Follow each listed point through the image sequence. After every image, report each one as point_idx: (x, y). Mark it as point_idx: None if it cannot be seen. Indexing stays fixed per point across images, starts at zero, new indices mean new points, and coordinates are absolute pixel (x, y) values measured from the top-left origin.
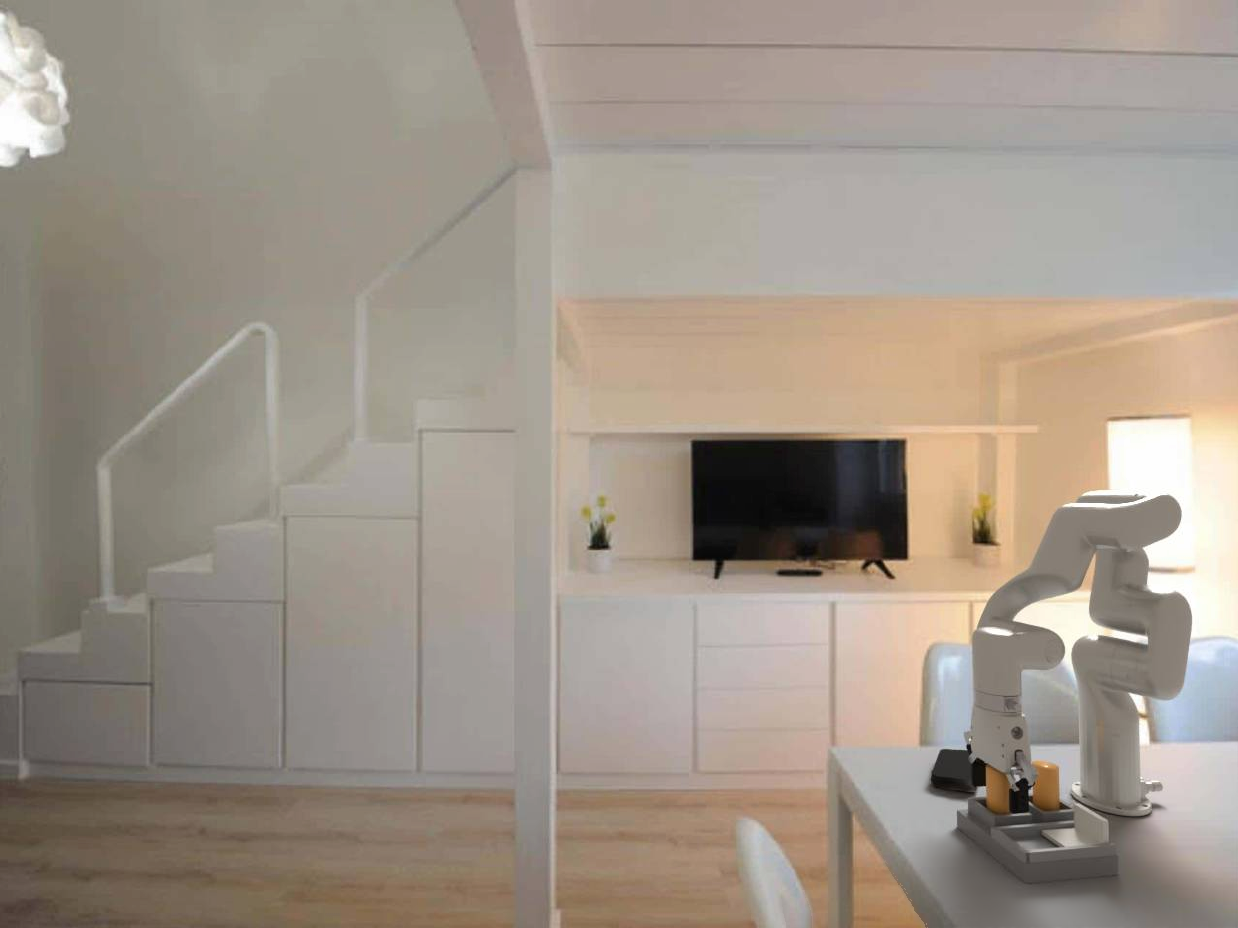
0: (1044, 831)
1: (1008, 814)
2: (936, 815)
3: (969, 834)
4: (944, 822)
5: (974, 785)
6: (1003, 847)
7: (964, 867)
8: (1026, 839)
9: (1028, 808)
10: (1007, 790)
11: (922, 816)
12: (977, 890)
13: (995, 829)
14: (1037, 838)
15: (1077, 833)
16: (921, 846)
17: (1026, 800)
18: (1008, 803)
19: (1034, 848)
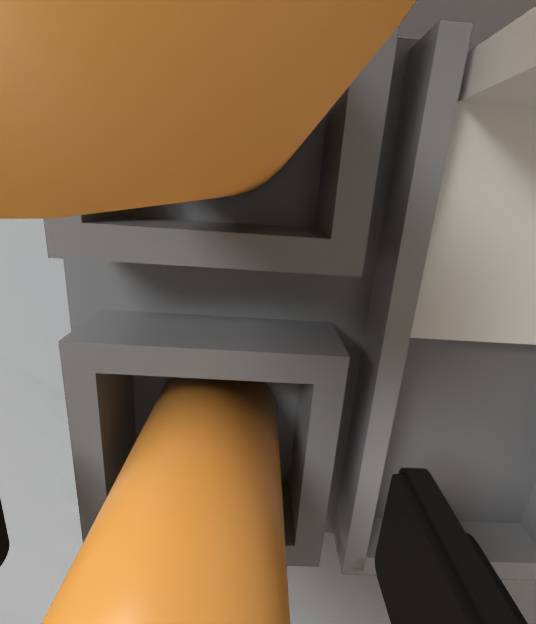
0: (422, 331)
1: (306, 482)
2: (29, 483)
3: None
4: None
5: (1, 557)
6: None
7: (356, 579)
8: (398, 417)
9: (434, 485)
10: (289, 615)
11: (36, 529)
12: None
13: (365, 568)
14: (407, 362)
15: (518, 152)
16: None
17: (508, 603)
18: (282, 505)
19: (469, 437)
